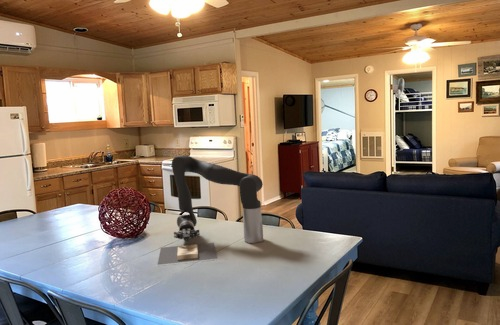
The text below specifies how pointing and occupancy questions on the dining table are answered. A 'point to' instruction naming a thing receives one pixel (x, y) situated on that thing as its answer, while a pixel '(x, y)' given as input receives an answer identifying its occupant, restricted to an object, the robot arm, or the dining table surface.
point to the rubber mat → (170, 256)
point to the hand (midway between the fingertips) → (186, 238)
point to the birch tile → (187, 252)
